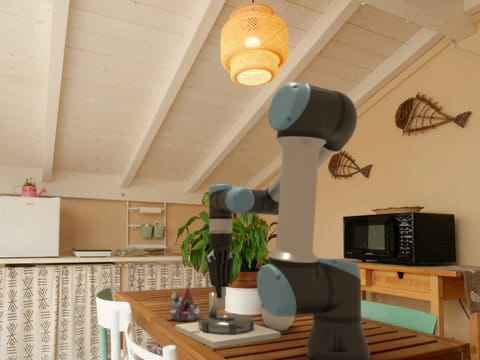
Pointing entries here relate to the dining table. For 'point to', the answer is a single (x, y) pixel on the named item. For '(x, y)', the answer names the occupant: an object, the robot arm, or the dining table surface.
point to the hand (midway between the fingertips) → (220, 308)
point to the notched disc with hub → (224, 320)
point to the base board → (226, 335)
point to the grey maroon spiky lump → (184, 307)
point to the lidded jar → (276, 320)
